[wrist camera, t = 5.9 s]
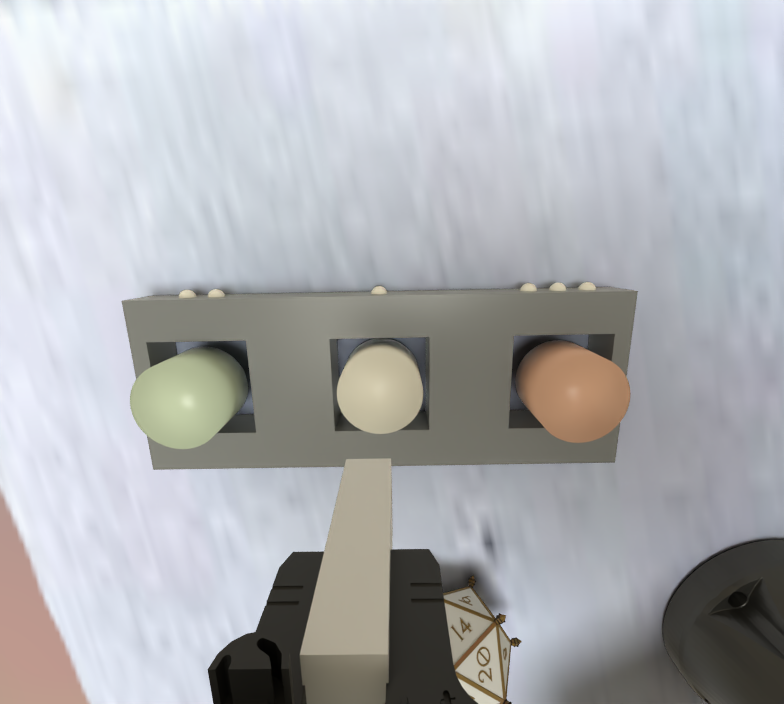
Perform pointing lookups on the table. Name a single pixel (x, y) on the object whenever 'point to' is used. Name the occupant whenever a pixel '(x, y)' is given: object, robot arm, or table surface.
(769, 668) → the robot arm
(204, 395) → the button two
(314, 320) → the console
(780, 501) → the table surface
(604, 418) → the button three
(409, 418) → the button one
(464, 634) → the game die
